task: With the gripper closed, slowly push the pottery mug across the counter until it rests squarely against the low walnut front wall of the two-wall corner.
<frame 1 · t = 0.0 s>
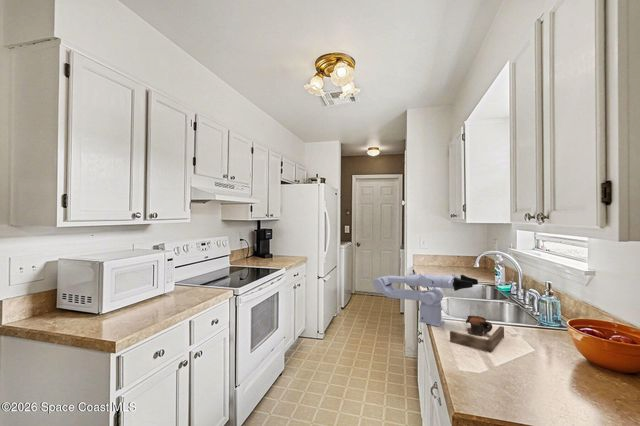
hand: (475, 283, 130), 22 cm above the countertop, tool horizontal, fingers open, 7 cm apart
walnut corner walls: (481, 340, 122), on the countertop
pottery mug: (479, 333, 130), on the countertop
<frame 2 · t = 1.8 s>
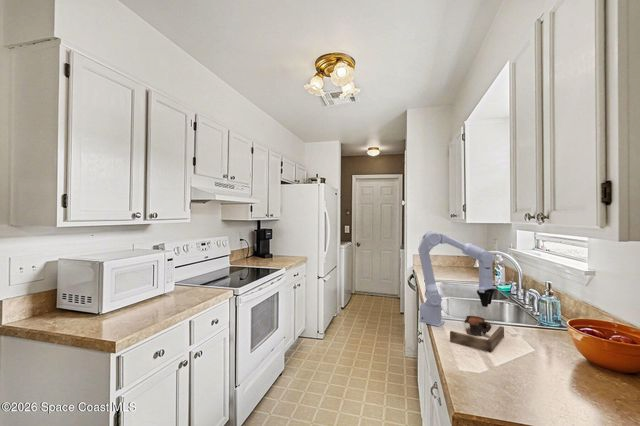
hand: (486, 305, 139), 9 cm above the countertop, tool pointing down, fingers open, 5 cm apart
nothing on the countertop moved.
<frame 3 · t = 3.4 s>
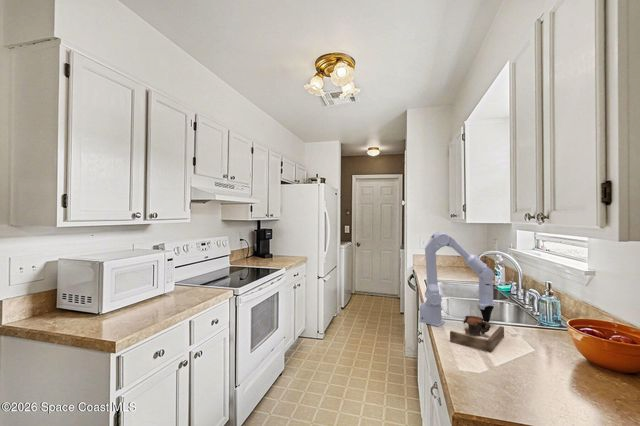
hand: (486, 321, 138), 2 cm above the countertop, tool pointing down, fingers closed
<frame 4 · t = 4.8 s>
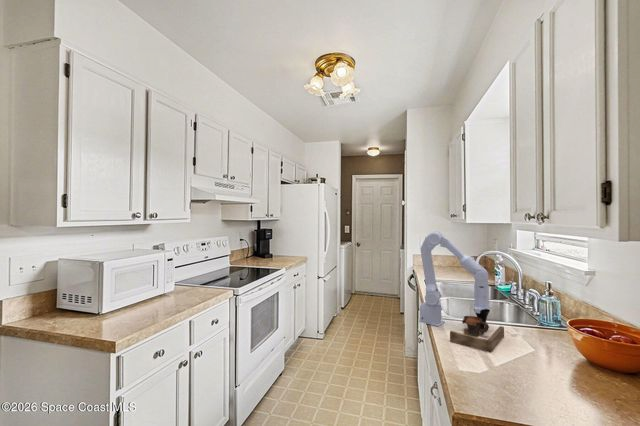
hand: (482, 325, 133), 2 cm above the countertop, tool pointing down, fingers closed
pottery mug: (475, 333, 129), on the countertop, touching gripper
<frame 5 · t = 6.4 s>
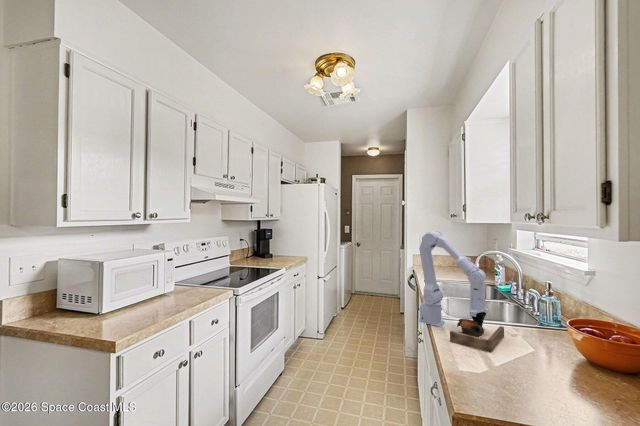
hand: (478, 329, 129), 2 cm above the countertop, tool pointing down, fingers closed
pottery mug: (470, 337, 126), on the countertop, touching gripper
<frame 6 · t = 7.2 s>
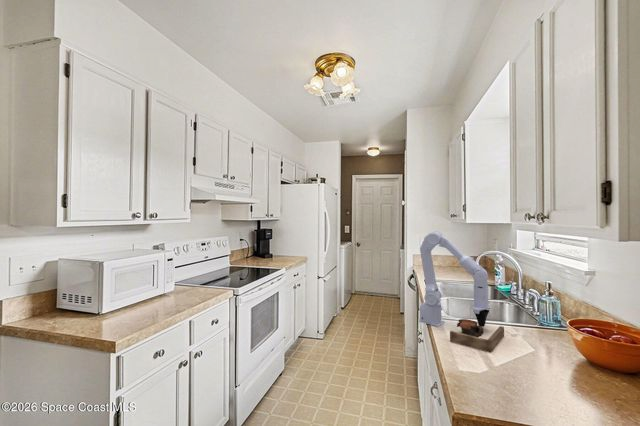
hand: (481, 326, 133), 2 cm above the countertop, tool pointing down, fingers closed
pottery mug: (470, 337, 126), on the countertop
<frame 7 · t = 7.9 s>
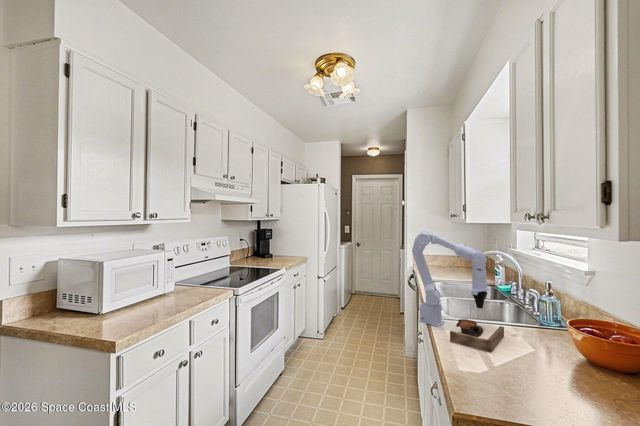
hand: (479, 307, 135), 9 cm above the countertop, tool pointing down, fingers closed
nothing on the countertop moved.
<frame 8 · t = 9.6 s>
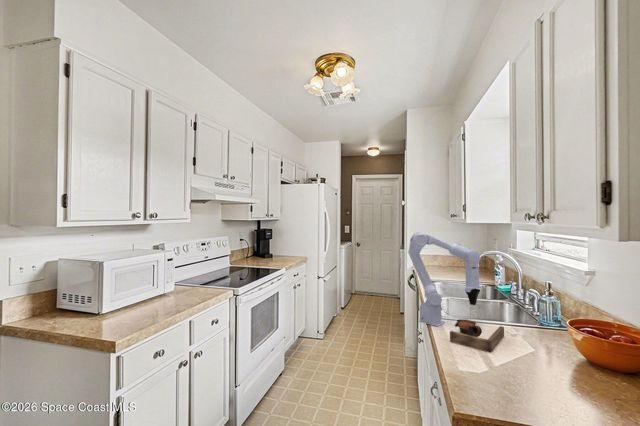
hand: (472, 304, 140), 9 cm above the countertop, tool pointing down, fingers closed
nothing on the countertop moved.
at the end: pottery mug inside the target area (2.7 cm from its centre), on the countertop; pottery mug tilted 0° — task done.
